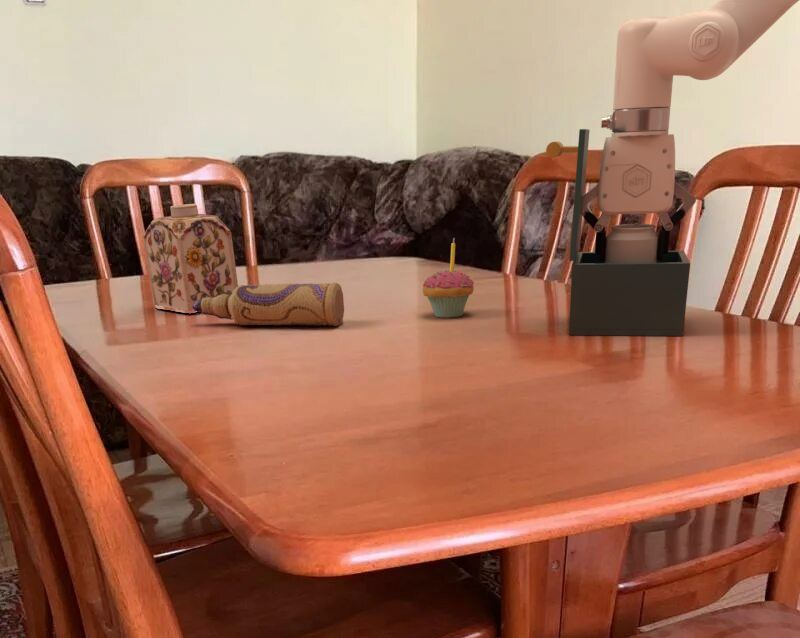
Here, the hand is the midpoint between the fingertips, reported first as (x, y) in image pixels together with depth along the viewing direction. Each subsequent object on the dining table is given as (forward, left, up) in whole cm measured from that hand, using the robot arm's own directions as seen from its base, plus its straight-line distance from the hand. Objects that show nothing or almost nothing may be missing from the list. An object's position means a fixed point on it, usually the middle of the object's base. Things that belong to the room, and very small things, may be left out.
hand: (630, 258), depth 120 cm
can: (0, 0, -7) cm, 7 cm away
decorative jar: (+68, -40, -10) cm, 80 cm away
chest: (0, 0, -10) cm, 10 cm away
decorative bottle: (+53, -19, -10) cm, 57 cm away
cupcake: (+24, -17, -10) cm, 31 cm away
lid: (+7, -2, +9) cm, 12 cm away
